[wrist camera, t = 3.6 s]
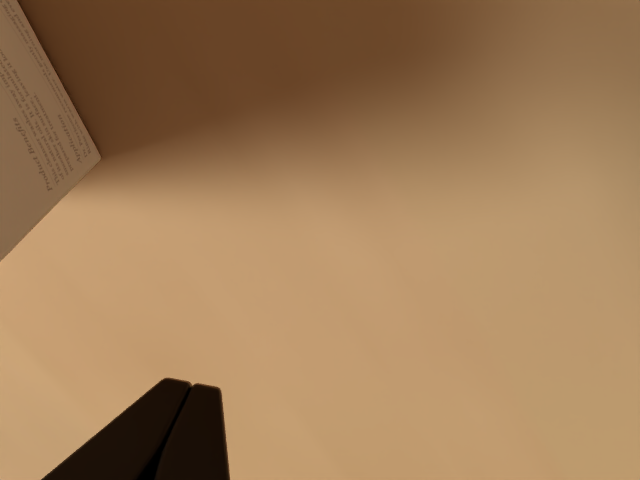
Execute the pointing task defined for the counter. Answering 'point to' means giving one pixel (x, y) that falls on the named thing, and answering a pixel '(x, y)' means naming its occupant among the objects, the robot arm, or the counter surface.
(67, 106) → the skincare box
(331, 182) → the counter surface
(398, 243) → the counter surface
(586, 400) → the counter surface
